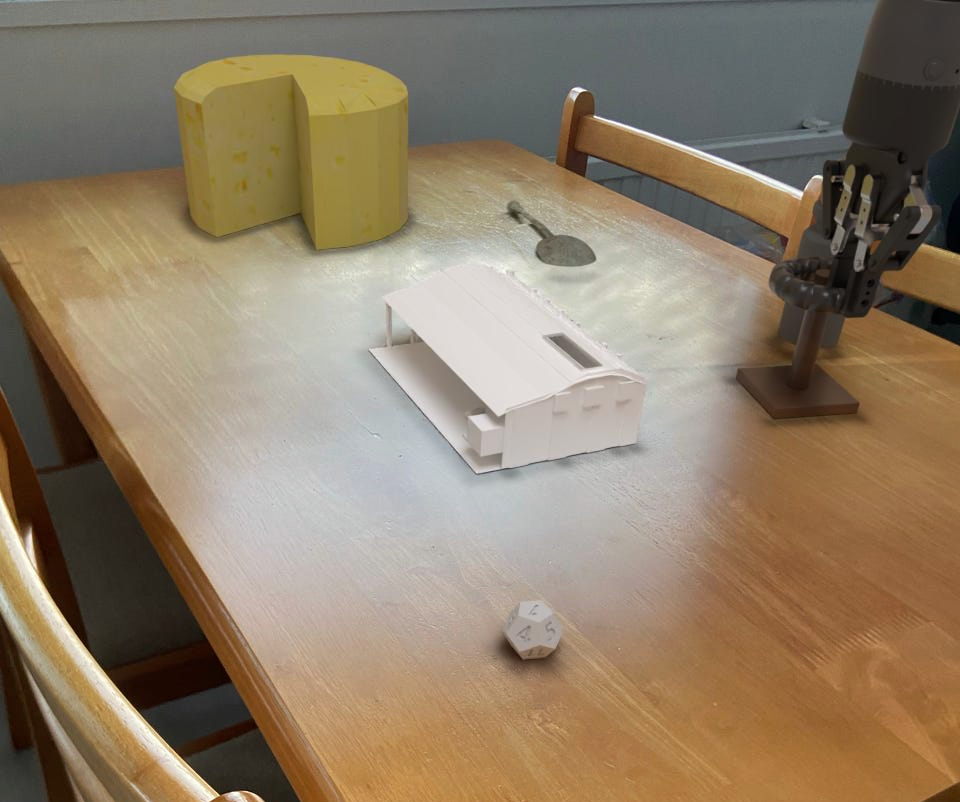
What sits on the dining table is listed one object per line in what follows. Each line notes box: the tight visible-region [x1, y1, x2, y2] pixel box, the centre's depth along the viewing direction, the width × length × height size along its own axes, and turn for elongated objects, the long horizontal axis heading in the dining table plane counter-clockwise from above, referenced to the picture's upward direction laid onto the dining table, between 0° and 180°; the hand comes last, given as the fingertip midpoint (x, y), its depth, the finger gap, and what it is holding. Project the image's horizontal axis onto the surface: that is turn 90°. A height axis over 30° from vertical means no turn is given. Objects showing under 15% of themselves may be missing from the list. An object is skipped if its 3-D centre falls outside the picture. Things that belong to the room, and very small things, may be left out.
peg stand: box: [735, 269, 860, 419], centre depth 87 cm, size 8×8×11 cm
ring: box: [768, 256, 884, 314], centre depth 84 cm, size 9×9×2 cm
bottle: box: [777, 180, 847, 350], centre depth 95 cm, size 6×6×15 cm
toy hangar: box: [368, 261, 647, 475], centre depth 86 cm, size 25×15×7 cm, turn 25°
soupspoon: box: [506, 199, 597, 268], centre depth 118 cm, size 22×3×7 cm
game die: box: [501, 599, 564, 661], centre depth 61 cm, size 4×4×3 cm
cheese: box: [173, 53, 409, 251], centre depth 118 cm, size 26×26×15 cm
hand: (844, 308), depth 82 cm, fingers closed on ring, 2 cm apart
